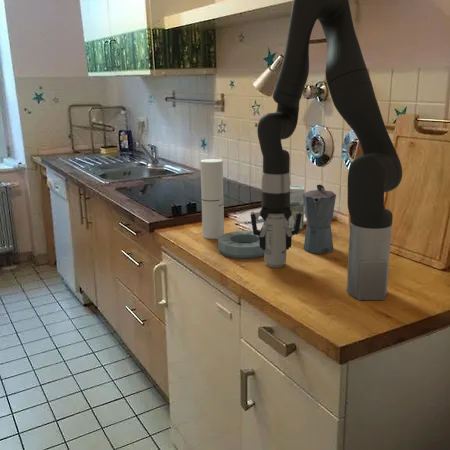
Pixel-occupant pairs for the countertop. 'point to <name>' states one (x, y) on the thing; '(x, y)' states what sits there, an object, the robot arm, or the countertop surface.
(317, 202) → the moka pot
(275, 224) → the energy drink can
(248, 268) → the countertop surface
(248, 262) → the countertop surface
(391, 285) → the countertop surface
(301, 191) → the syrup box
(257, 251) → the blue-grey ring
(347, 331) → the countertop surface
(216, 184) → the cylindrical container
